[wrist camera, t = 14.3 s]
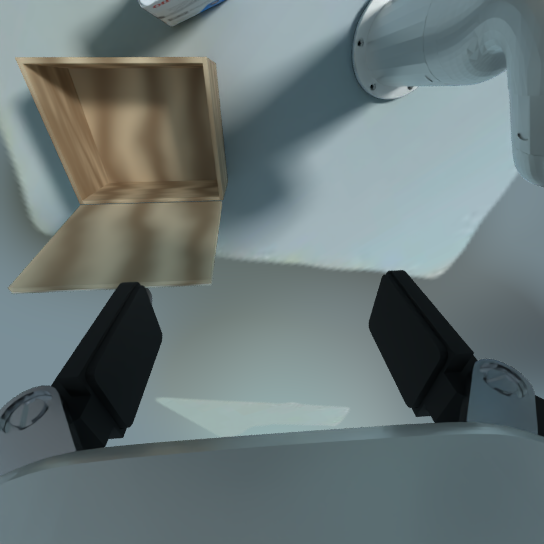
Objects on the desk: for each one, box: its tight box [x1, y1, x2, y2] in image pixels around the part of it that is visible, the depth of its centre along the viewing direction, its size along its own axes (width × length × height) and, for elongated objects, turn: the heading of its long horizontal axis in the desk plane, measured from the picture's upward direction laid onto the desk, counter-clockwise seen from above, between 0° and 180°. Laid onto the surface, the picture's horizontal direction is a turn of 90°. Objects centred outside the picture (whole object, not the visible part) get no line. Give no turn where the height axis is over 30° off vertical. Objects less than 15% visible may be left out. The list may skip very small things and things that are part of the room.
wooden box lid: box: [8, 201, 222, 304], centre depth 34 cm, size 20×16×7 cm
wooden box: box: [15, 57, 228, 204], centre depth 36 cm, size 20×16×9 cm
